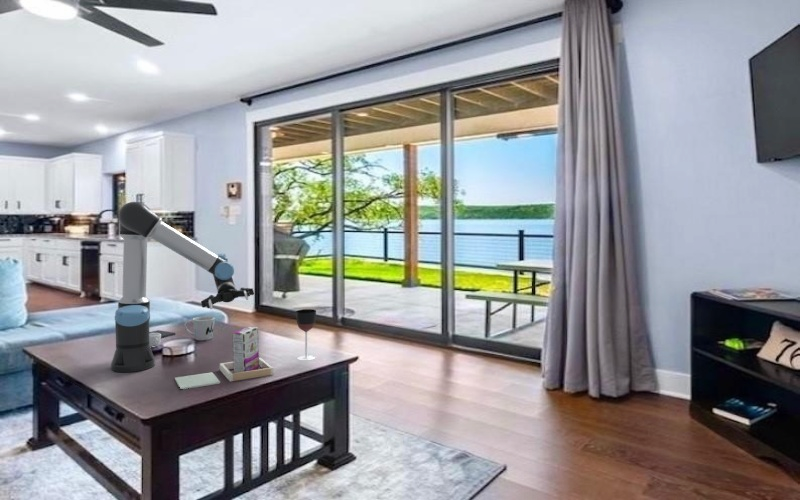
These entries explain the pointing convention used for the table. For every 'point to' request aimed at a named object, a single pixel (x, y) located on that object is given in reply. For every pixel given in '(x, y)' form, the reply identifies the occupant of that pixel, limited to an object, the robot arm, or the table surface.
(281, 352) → the table surface
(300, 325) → the wineglass
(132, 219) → the robot arm
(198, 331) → the mug
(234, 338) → the candy bar box
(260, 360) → the cream rectangular open frame
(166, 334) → the notebook
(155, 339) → the teacup
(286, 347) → the table surface
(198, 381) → the rubber mat
